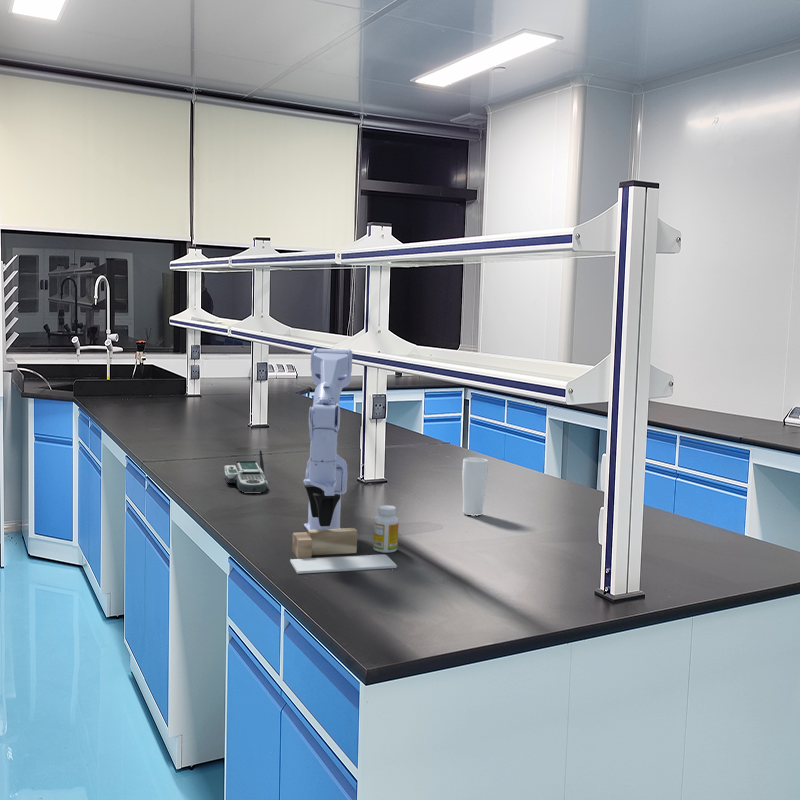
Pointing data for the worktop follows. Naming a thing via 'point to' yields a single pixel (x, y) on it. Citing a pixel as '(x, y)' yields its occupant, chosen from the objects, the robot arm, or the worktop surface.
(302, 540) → the tan boxy piece
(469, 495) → the drinking glass
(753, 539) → the worktop surface
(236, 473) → the communication device
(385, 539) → the supplement bottle
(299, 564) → the grey mat
